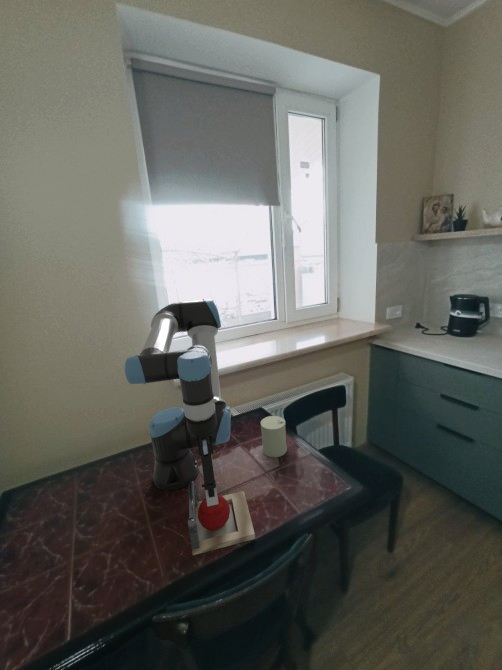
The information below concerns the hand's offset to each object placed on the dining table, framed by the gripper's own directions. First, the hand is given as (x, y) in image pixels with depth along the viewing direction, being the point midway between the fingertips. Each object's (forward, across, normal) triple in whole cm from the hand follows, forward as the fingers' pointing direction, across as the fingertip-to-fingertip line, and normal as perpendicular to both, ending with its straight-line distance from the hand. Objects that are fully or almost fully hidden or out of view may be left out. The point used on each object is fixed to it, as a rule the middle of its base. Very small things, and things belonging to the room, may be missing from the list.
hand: (210, 483), depth 78 cm
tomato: (+13, -1, 0) cm, 13 cm away
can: (+14, +25, -25) cm, 38 cm away
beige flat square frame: (+13, -1, -1) cm, 13 cm away
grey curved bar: (+11, -1, +6) cm, 13 cm away
